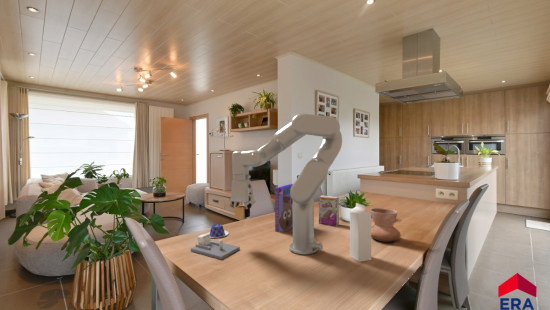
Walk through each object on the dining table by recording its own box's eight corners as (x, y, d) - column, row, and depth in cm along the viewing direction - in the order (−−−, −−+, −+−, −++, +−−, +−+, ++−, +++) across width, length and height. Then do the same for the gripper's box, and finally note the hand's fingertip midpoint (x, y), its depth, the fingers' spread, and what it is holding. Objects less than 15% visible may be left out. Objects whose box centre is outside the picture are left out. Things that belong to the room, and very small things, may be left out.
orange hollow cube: (250, 216, 117) (249, 205, 117) (243, 219, 112) (243, 208, 112) (241, 215, 119) (241, 204, 119) (234, 217, 115) (234, 207, 115)
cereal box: (282, 232, 134) (282, 188, 133) (275, 231, 136) (274, 187, 136) (297, 224, 149) (296, 184, 148) (290, 223, 151) (289, 183, 151)
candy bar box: (318, 223, 149) (318, 196, 149) (321, 221, 153) (321, 195, 153) (336, 226, 143) (336, 198, 143) (339, 224, 147) (339, 196, 147)
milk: (358, 262, 98) (358, 206, 97) (349, 255, 104) (349, 203, 103) (371, 259, 100) (371, 205, 99) (362, 253, 105) (361, 202, 105)
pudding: (226, 238, 126) (226, 228, 126) (203, 239, 126) (202, 229, 126) (230, 231, 138) (229, 221, 138) (208, 231, 138) (208, 222, 137)
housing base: (239, 249, 112) (239, 237, 112) (221, 259, 101) (221, 247, 101) (210, 242, 121) (210, 231, 121) (190, 251, 110) (190, 239, 110)
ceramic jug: (408, 240, 121) (407, 210, 121) (394, 247, 111) (394, 215, 112) (373, 231, 135) (372, 205, 135) (358, 237, 125) (358, 209, 125)
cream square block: (210, 243, 115) (210, 234, 115) (203, 246, 112) (203, 236, 112) (204, 242, 117) (204, 232, 117) (197, 245, 114) (197, 235, 114)
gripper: (260, 177, 114) (262, 216, 115) (232, 176, 123) (233, 213, 123) (251, 179, 108) (252, 220, 108) (221, 178, 117) (223, 216, 117)
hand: (242, 216), depth 116 cm, fingers closed on orange hollow cube, 5 cm apart
